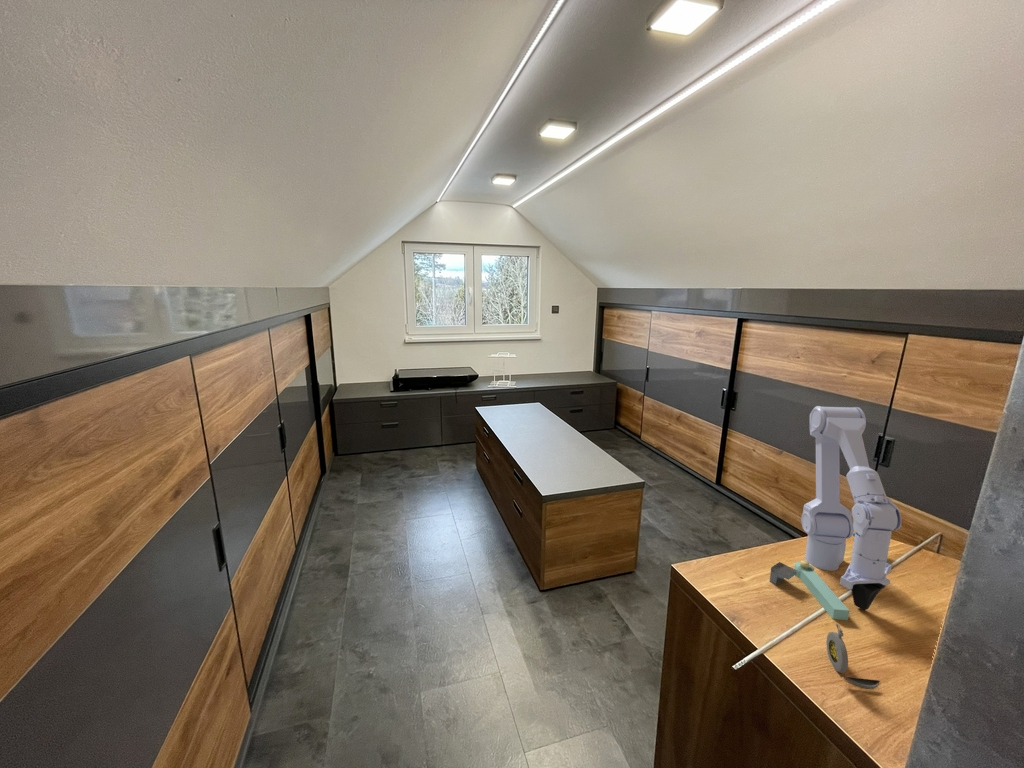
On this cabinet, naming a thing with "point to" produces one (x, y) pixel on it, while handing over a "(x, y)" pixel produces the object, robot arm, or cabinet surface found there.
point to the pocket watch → (844, 659)
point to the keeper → (781, 573)
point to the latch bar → (821, 591)
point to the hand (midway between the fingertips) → (861, 606)
